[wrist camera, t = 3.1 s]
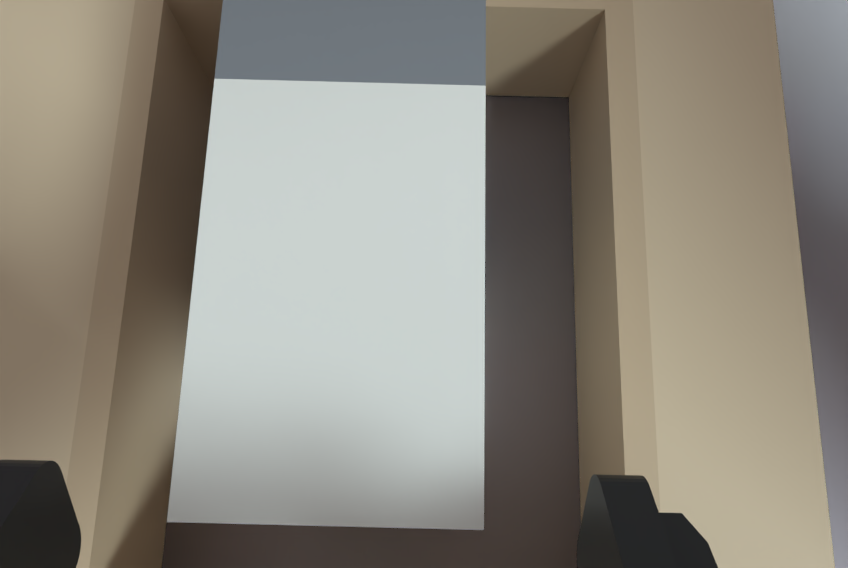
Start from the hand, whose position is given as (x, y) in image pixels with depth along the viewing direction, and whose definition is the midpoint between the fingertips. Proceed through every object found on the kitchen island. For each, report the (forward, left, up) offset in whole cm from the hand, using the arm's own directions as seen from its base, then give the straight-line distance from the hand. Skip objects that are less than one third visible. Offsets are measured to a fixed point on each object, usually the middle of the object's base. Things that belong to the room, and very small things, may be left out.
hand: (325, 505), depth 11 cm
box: (0, -5, -11) cm, 12 cm away
